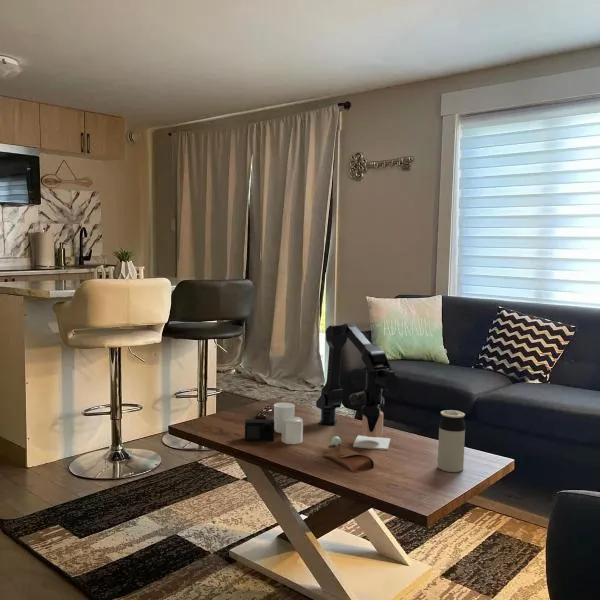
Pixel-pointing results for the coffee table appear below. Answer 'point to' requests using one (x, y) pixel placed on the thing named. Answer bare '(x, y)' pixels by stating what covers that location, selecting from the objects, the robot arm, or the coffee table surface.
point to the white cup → (282, 414)
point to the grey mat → (372, 442)
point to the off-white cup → (292, 430)
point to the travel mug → (451, 441)
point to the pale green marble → (336, 440)
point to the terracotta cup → (377, 430)
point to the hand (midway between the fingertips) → (372, 428)
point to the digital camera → (259, 429)
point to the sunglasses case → (349, 458)
